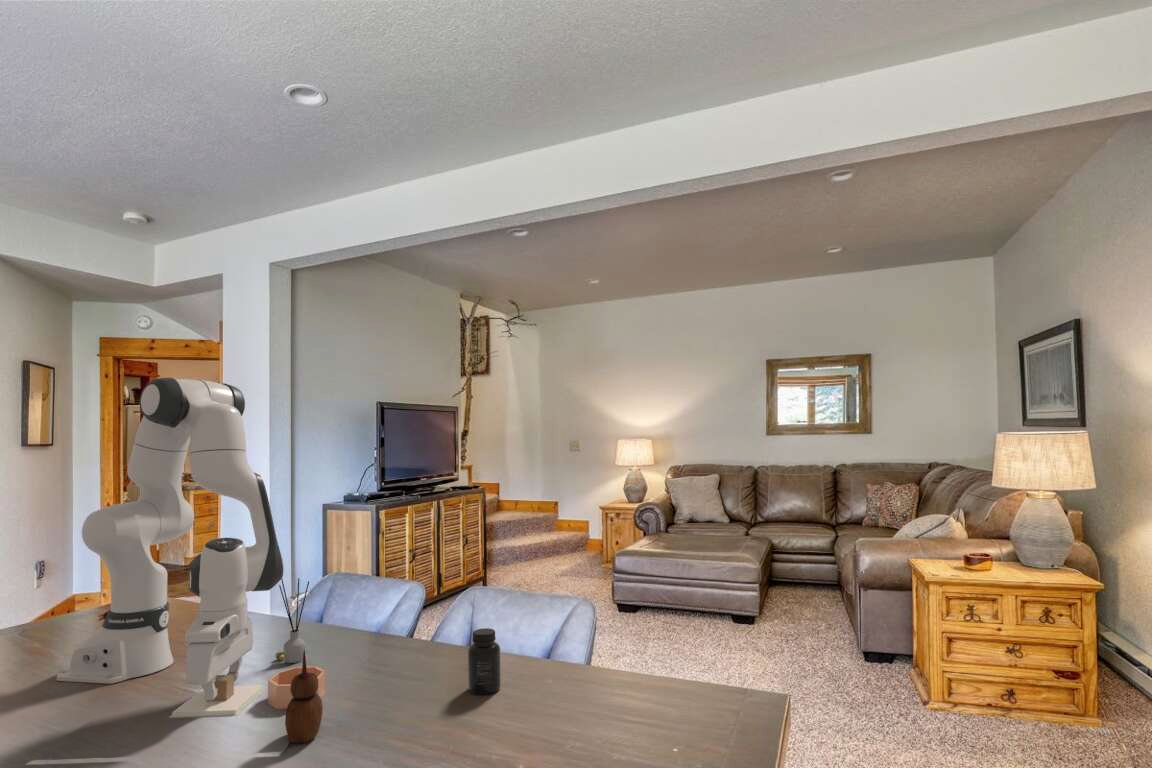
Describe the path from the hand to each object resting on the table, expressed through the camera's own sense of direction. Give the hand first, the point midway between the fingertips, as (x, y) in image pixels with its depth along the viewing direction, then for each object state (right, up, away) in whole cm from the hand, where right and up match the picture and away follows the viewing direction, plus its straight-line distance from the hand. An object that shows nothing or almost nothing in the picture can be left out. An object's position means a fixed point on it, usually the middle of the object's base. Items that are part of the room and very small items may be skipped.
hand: (222, 689), depth 131 cm
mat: (0, -3, 0) cm, 3 cm away
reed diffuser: (+4, -5, +22) cm, 23 cm away
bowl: (+15, -3, +1) cm, 15 cm away
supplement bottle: (+53, -3, +6) cm, 53 cm away
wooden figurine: (+23, -2, -15) cm, 27 cm away
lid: (0, -2, 0) cm, 2 cm away
